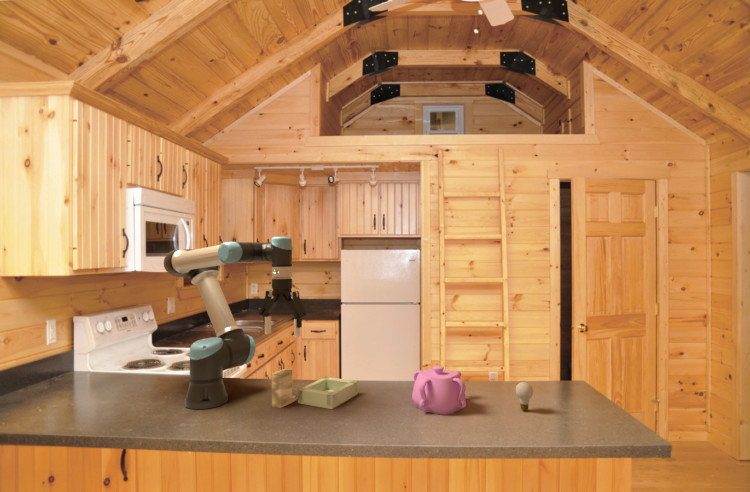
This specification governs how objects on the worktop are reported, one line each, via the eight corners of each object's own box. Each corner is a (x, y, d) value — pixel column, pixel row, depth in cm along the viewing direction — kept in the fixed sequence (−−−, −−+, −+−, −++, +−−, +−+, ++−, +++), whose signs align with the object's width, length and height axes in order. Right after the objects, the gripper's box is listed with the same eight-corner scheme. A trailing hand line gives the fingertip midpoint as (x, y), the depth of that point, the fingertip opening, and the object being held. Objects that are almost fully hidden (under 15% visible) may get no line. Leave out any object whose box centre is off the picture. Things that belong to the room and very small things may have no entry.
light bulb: (533, 408, 158) (532, 380, 158) (533, 414, 152) (533, 385, 153) (515, 407, 160) (515, 379, 160) (515, 412, 154) (515, 383, 154)
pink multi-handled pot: (413, 415, 153) (412, 373, 153) (411, 395, 173) (411, 359, 174) (469, 416, 151) (468, 374, 152) (461, 396, 172) (460, 359, 173)
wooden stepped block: (271, 406, 162) (271, 373, 163) (288, 398, 171) (288, 367, 171) (280, 408, 161) (280, 374, 161) (297, 399, 170) (297, 368, 170)
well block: (297, 403, 166) (297, 389, 166) (325, 388, 183) (325, 376, 183) (331, 409, 159) (331, 395, 159) (357, 393, 176) (357, 381, 176)
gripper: (249, 278, 168) (249, 334, 167) (303, 279, 156) (303, 339, 156) (262, 277, 174) (263, 331, 174) (315, 278, 163) (316, 336, 163)
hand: (282, 335), depth 165 cm, fingers open, 13 cm apart
